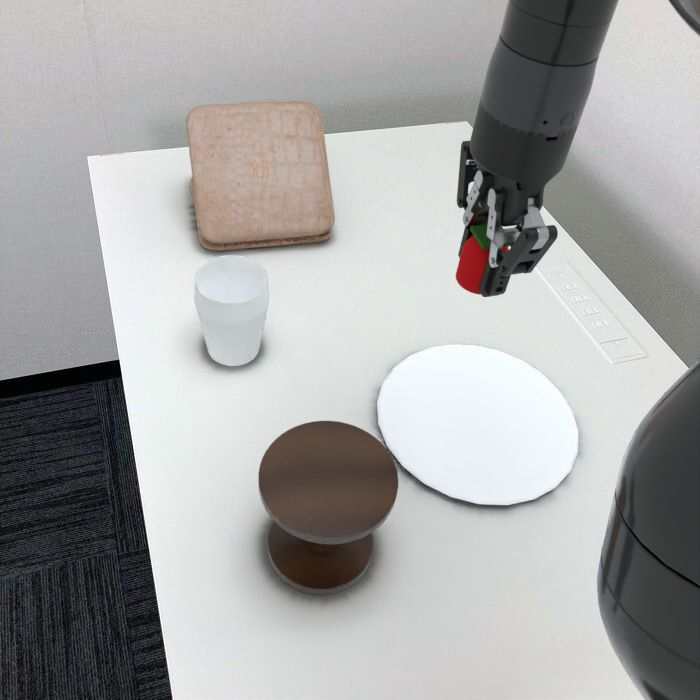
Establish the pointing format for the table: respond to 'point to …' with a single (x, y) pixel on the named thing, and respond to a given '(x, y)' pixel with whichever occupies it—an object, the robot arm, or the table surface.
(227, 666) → the table surface
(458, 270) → the strawberry
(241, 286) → the cup
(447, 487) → the plate
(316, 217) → the case
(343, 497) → the stand
